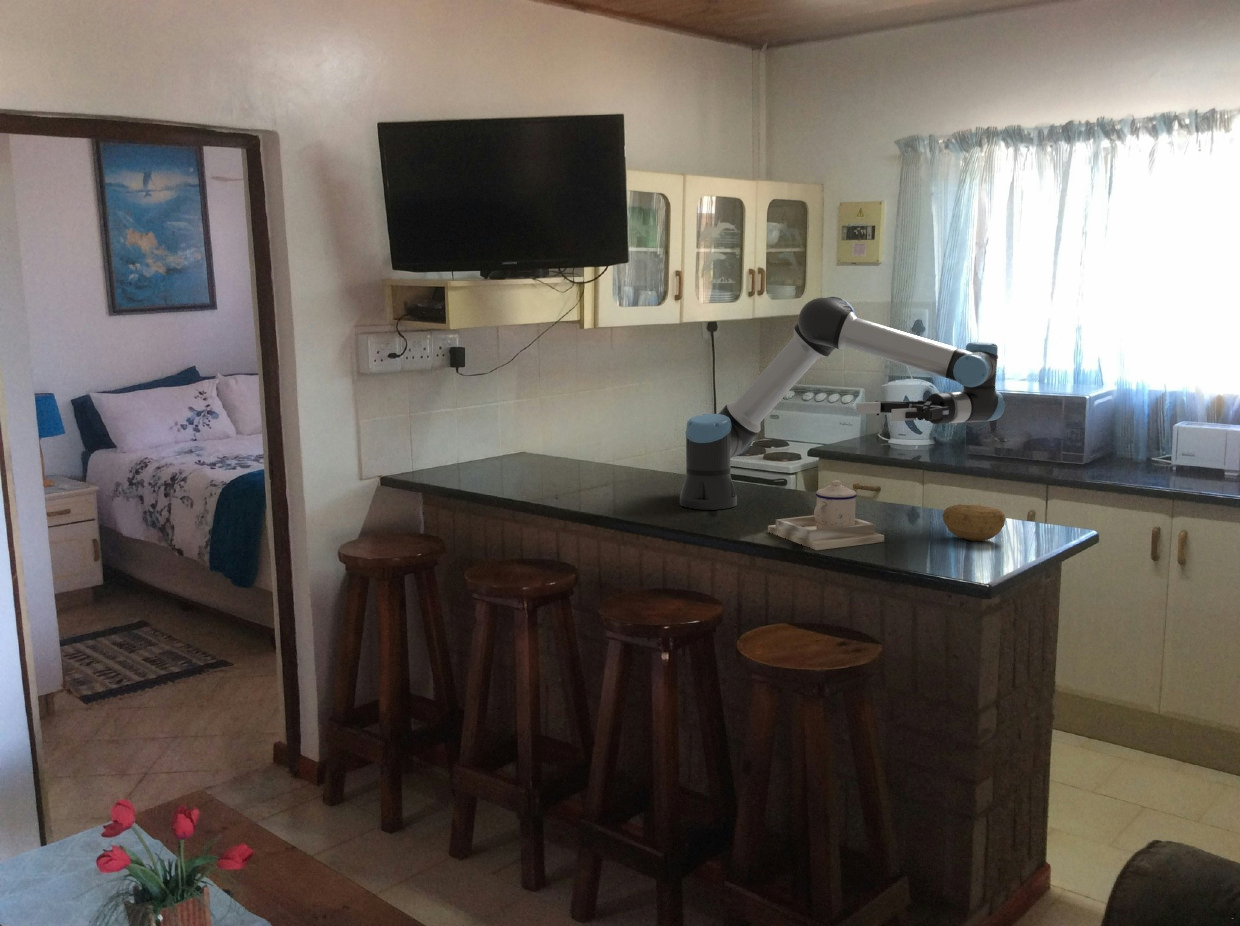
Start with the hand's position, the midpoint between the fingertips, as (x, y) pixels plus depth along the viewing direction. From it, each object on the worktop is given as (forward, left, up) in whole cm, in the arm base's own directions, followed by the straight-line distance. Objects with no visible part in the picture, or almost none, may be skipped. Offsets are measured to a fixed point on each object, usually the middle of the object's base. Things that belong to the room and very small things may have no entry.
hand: (874, 411), depth 254 cm
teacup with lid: (+6, -16, -26) cm, 31 cm away
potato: (+21, +12, -28) cm, 37 cm away
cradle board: (+4, -16, -28) cm, 32 cm away
